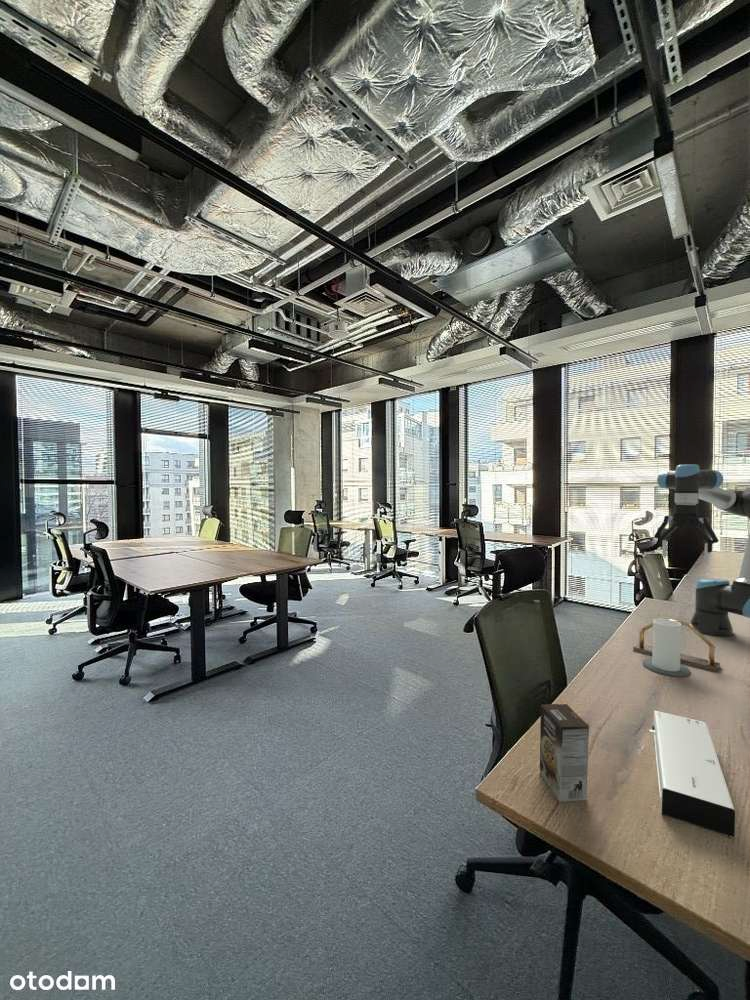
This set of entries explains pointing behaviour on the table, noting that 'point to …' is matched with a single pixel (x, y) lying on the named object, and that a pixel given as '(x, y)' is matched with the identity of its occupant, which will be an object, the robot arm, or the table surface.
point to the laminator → (691, 774)
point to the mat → (681, 673)
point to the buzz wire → (683, 658)
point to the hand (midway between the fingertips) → (684, 558)
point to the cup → (666, 644)
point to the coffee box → (564, 752)
